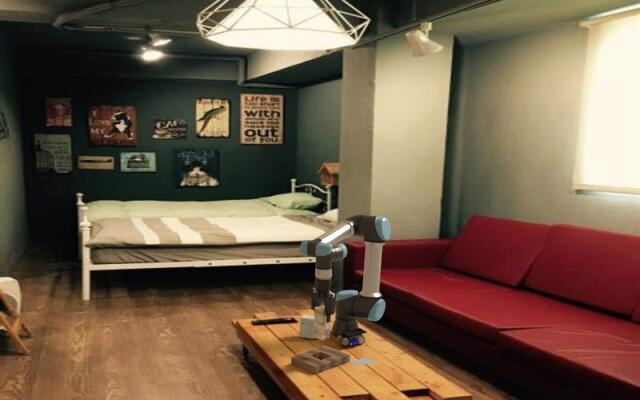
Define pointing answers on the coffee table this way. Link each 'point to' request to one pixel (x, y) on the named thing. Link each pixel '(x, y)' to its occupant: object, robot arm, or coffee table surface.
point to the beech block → (320, 324)
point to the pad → (362, 361)
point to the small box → (307, 326)
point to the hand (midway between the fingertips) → (322, 327)
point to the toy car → (346, 336)
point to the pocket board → (315, 365)
